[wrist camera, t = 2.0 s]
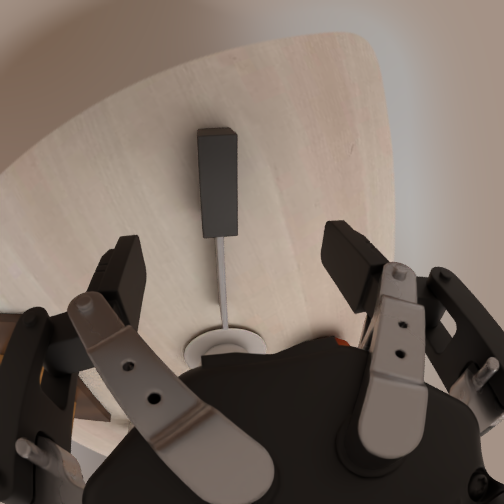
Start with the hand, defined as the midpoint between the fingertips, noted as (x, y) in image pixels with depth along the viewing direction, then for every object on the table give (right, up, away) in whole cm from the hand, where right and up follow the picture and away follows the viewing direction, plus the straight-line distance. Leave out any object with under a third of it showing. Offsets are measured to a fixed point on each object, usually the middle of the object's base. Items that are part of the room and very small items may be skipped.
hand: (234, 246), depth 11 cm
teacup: (-3, -12, +21) cm, 24 cm away
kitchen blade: (-2, +2, +11) cm, 12 cm away
